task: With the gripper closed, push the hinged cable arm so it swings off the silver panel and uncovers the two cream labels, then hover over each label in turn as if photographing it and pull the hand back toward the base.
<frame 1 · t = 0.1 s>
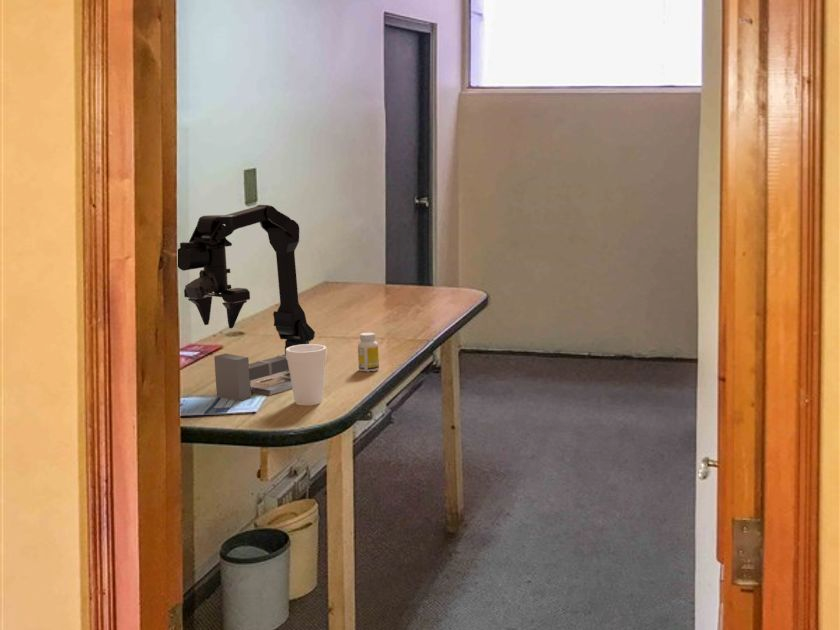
hand: (218, 326, 266), 15 cm above the table, tool pointing down, fingers open, 9 cm apart
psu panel: (278, 383, 265), on the table
cable arm: (272, 371, 263), point 3 cm above the table, hinge at 0.0°
foam cup: (308, 402, 247), on the table
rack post: (233, 397, 253), on the table
supplement bottle: (368, 370, 278), on the table
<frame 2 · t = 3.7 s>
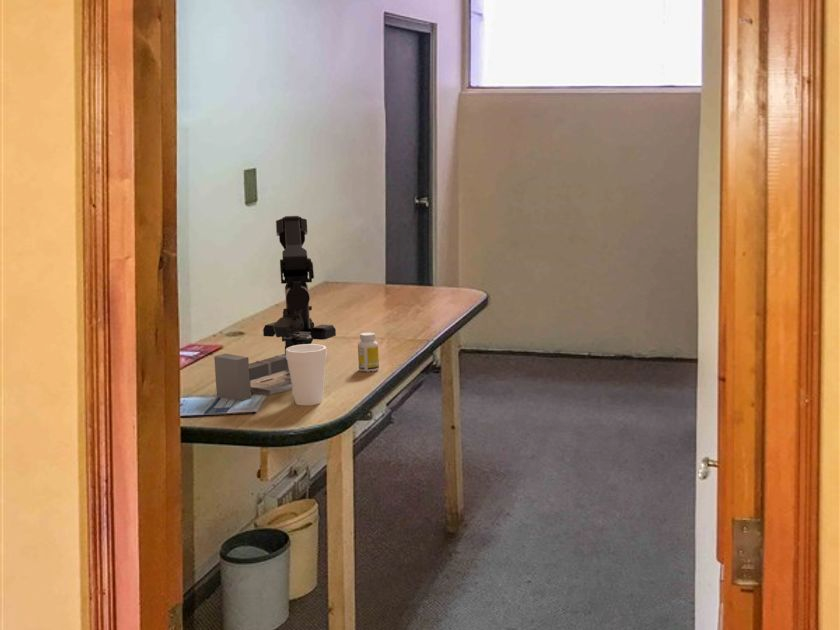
hand: (301, 363, 267), 4 cm above the table, tool pointing down, fingers closed
cable arm: (271, 371, 263), point 3 cm above the table, hinge at 1.9°, touching gripper
everything else where it was.
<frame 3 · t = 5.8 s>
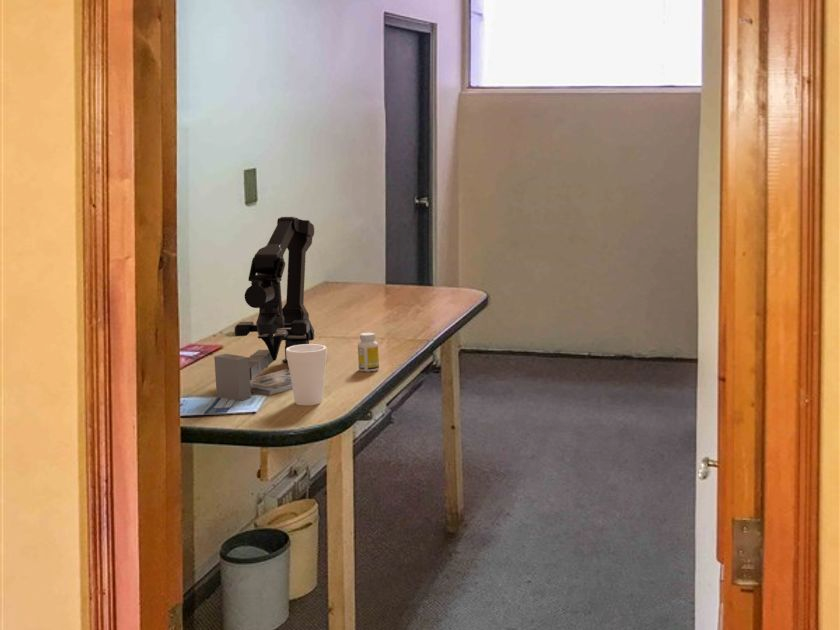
hand: (274, 360, 271), 5 cm above the table, tool pointing down, fingers closed
cable arm: (254, 370, 265), point 3 cm above the table, hinge at 30.2°, touching gripper
everything else where it was.
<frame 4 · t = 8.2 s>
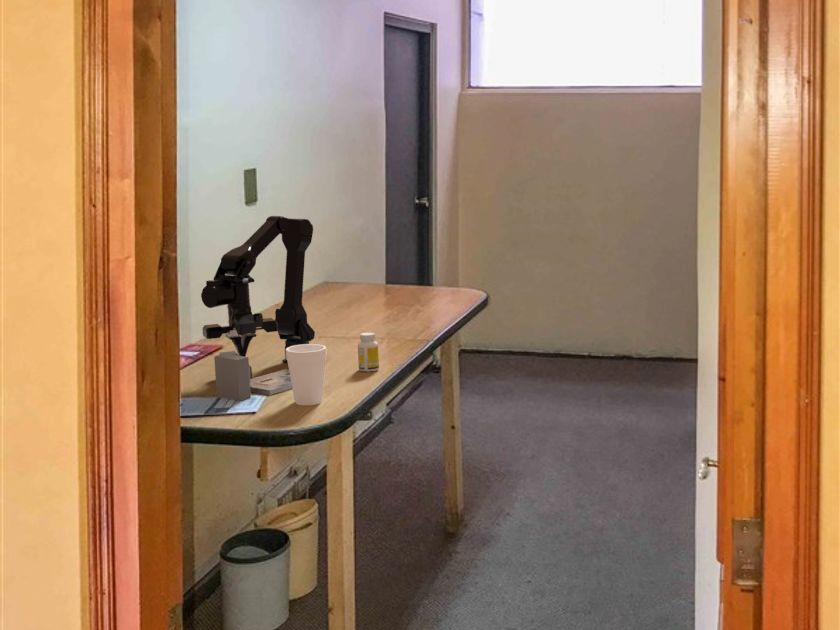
hand: (242, 360, 272), 5 cm above the table, tool pointing down, fingers closed
cable arm: (236, 371, 264), point 3 cm above the table, hinge at 58.3°, touching gripper
everything else where it was.
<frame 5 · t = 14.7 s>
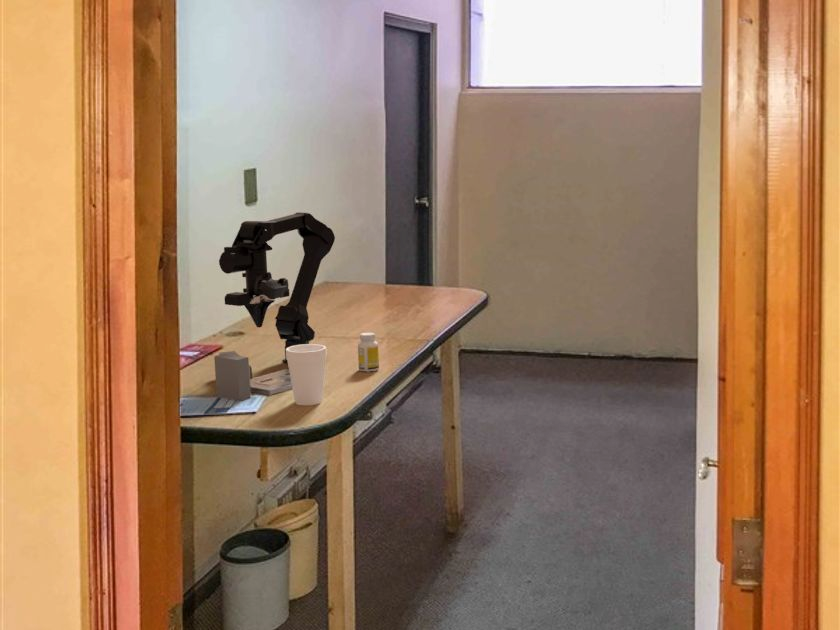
hand: (259, 327, 278), 12 cm above the table, tool pointing down, fingers closed
cable arm: (236, 371, 264), point 3 cm above the table, hinge at 58.3°
everything else where it was.
at the end: cable arm at +58° (first picture: +0°); the gripper is holding nothing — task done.
